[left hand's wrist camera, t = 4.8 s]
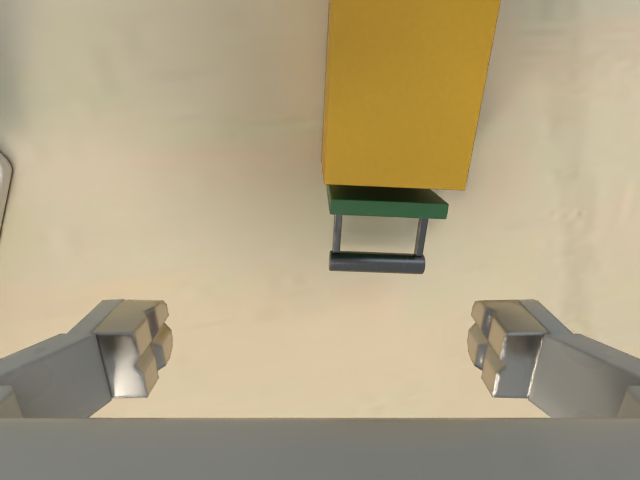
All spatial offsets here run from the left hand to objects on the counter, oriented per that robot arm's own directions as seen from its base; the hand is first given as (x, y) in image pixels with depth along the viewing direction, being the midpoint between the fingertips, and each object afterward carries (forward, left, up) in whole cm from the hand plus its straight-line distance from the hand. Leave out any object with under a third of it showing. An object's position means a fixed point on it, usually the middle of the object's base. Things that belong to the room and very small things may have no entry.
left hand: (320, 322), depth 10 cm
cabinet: (+11, -3, -27) cm, 30 cm away
